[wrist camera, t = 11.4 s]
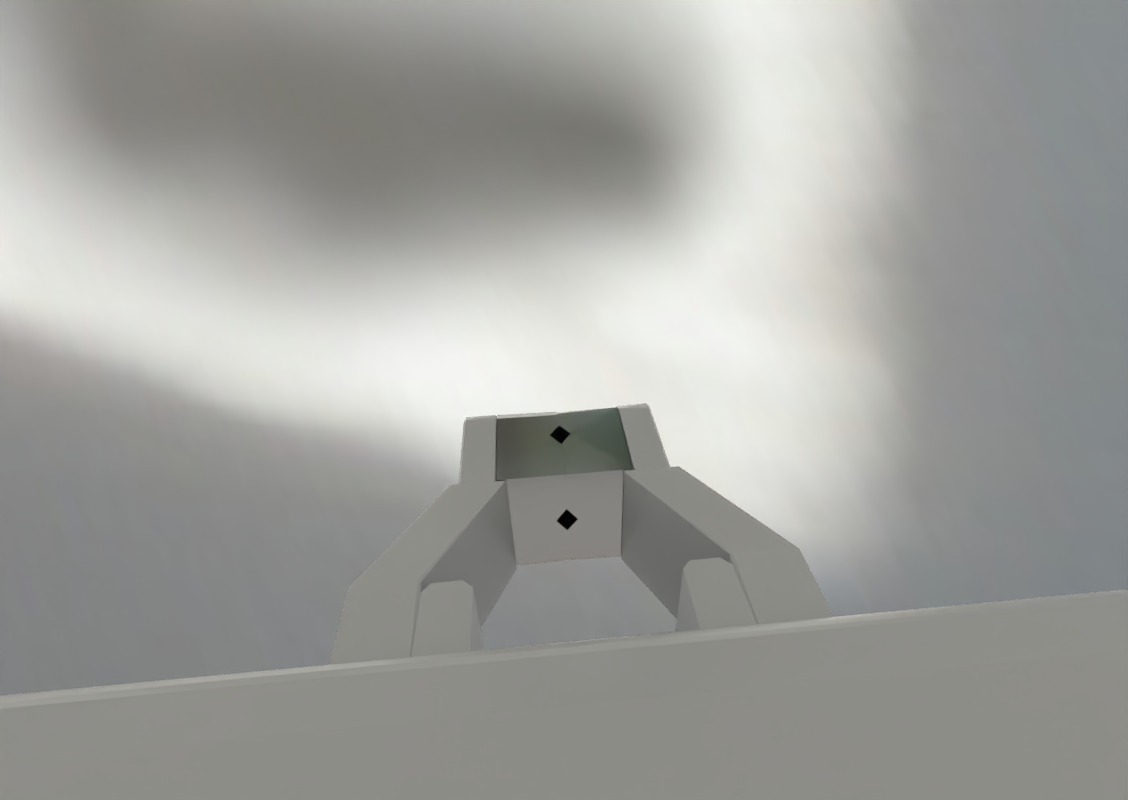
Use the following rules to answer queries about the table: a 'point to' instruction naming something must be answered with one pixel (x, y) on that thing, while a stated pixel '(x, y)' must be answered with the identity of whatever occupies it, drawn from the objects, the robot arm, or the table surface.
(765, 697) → the robot arm
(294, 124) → the table surface
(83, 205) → the table surface
